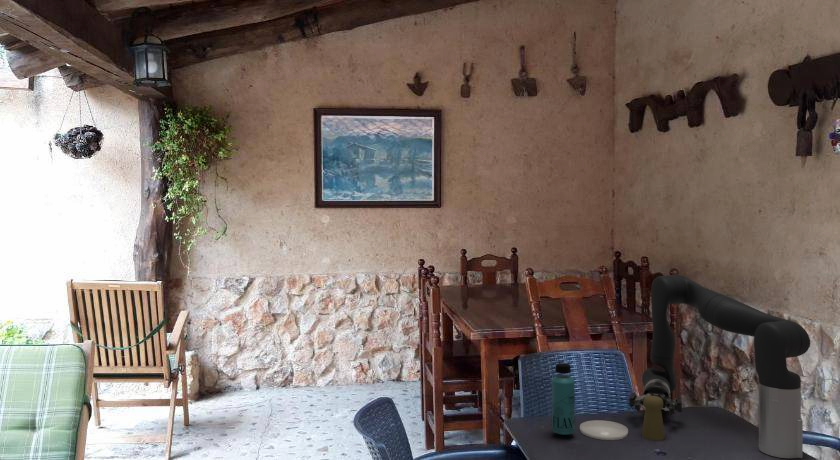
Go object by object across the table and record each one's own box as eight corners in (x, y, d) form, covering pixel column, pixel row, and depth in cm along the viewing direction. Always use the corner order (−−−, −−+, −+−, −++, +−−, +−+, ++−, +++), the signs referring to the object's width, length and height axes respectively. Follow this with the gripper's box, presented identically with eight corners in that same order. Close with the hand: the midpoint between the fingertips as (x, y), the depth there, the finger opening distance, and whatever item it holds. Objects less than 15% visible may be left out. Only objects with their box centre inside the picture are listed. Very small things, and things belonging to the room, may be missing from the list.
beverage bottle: (548, 438, 167) (547, 365, 166) (555, 430, 173) (554, 360, 172) (572, 441, 164) (571, 368, 163) (578, 433, 170) (577, 362, 169)
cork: (667, 441, 163) (667, 400, 163) (643, 439, 164) (643, 399, 164) (663, 433, 169) (662, 394, 169) (640, 432, 170) (639, 393, 170)
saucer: (630, 426, 174) (630, 423, 174) (626, 442, 163) (626, 439, 162) (583, 421, 180) (583, 418, 180) (576, 436, 168) (576, 432, 168)
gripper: (632, 379, 188) (627, 393, 174) (682, 384, 183) (681, 399, 168) (632, 403, 189) (627, 420, 174) (682, 408, 183) (681, 426, 168)
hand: (654, 409), depth 171 cm, fingers open, 8 cm apart
